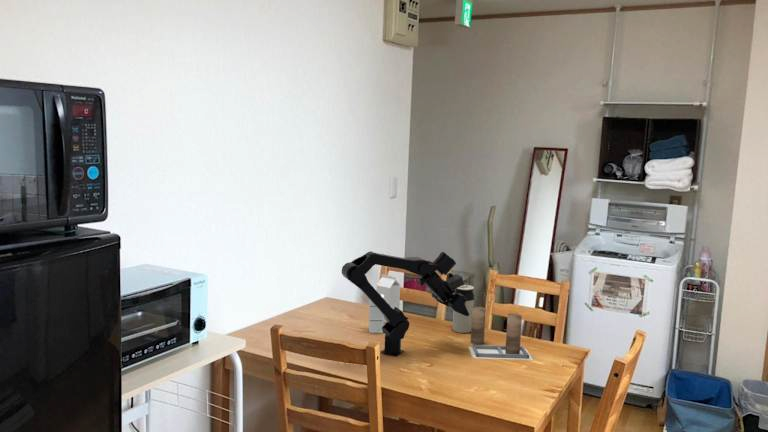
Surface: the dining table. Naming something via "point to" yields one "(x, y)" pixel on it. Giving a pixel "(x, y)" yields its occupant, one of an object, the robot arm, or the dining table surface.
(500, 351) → the pallet board
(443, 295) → the robot arm
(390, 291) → the milk carton
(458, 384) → the dining table surface
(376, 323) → the syrup box
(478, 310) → the billet
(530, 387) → the dining table surface
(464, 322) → the travel mug
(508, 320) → the billet
